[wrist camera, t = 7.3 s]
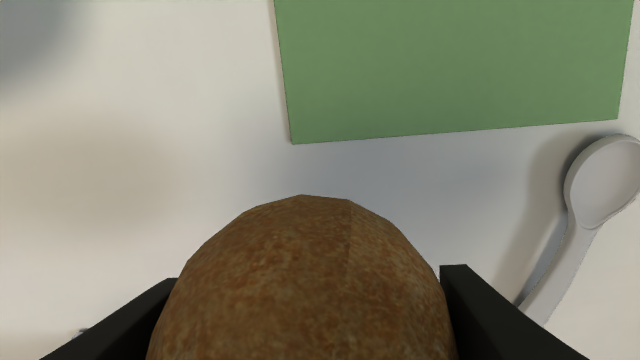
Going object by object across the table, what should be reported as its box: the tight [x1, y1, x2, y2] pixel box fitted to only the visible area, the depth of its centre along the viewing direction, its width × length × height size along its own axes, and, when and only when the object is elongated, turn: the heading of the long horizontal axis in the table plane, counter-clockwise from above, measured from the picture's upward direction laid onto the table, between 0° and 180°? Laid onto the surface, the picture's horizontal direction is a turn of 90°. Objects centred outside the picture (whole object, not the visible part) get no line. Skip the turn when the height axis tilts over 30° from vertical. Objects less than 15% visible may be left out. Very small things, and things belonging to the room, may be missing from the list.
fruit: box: [145, 194, 460, 360], centre depth 9 cm, size 6×6×8 cm
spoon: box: [518, 135, 640, 328], centre depth 19 cm, size 3×12×2 cm, turn 166°
